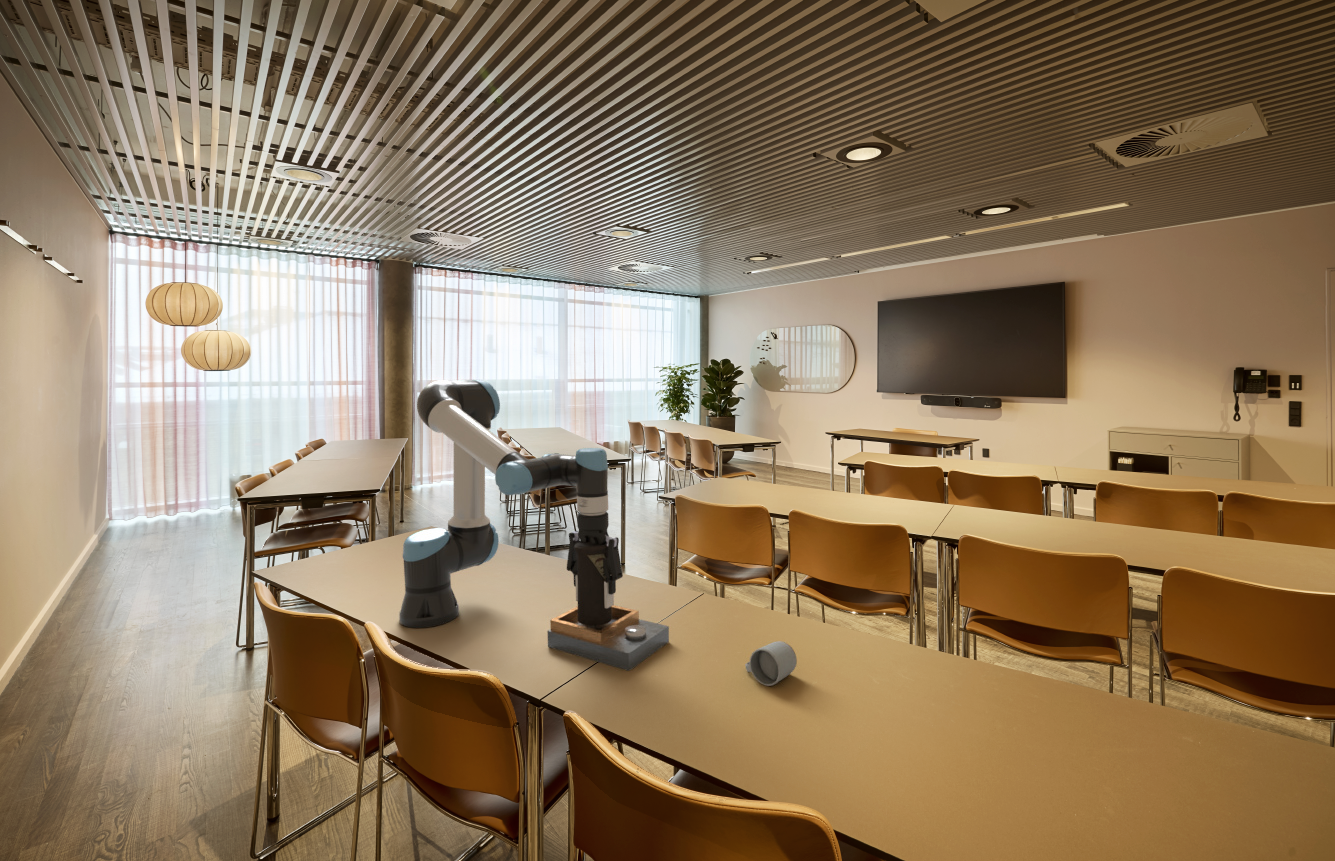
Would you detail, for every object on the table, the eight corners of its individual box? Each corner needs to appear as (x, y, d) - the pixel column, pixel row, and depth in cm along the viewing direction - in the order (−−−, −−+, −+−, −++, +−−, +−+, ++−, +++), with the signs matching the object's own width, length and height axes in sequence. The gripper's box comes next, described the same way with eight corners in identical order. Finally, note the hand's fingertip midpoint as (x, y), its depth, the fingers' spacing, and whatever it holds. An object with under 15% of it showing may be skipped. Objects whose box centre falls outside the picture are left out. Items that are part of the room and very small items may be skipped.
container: (606, 628, 145) (605, 546, 143) (571, 625, 147) (569, 544, 145) (617, 614, 153) (615, 536, 151) (583, 611, 155) (581, 535, 153)
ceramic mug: (799, 676, 131) (799, 641, 131) (779, 691, 125) (779, 655, 125) (758, 662, 139) (757, 629, 138) (737, 675, 132) (736, 641, 132)
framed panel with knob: (547, 646, 147) (547, 620, 147) (592, 622, 162) (591, 598, 161) (628, 670, 135) (628, 642, 134) (668, 641, 149) (668, 616, 149)
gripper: (549, 510, 150) (552, 599, 152) (618, 520, 139) (620, 616, 141) (569, 504, 156) (571, 590, 158) (637, 513, 145) (638, 605, 147)
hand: (594, 602), depth 150 cm, fingers closed on container, 8 cm apart
